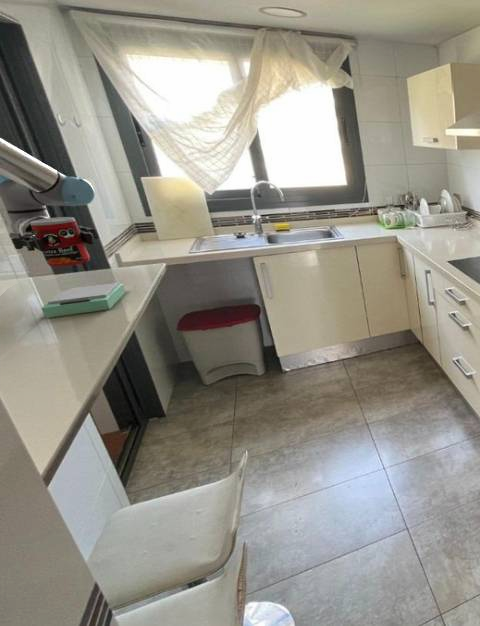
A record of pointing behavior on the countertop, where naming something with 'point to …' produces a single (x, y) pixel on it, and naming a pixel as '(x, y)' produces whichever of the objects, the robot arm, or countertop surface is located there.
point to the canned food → (61, 241)
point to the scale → (83, 300)
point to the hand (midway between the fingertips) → (65, 242)
